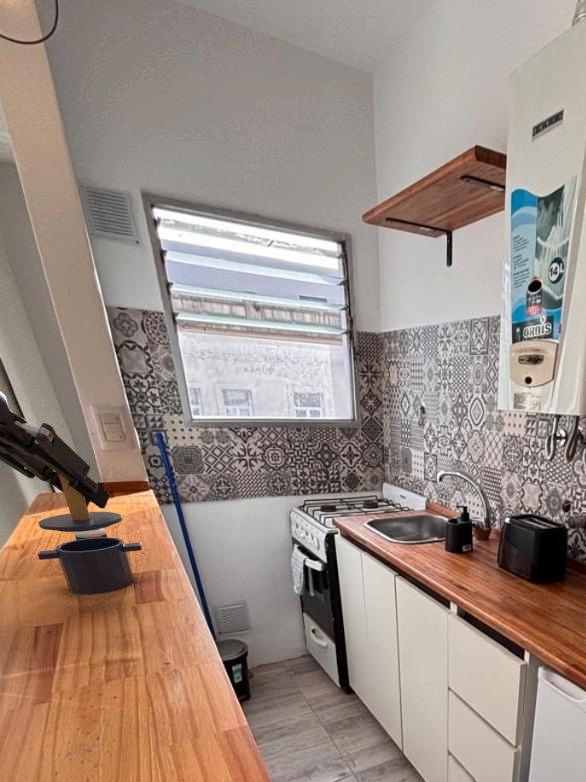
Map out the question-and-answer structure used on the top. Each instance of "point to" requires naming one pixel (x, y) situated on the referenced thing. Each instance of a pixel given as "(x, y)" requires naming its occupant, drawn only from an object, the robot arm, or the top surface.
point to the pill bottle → (90, 534)
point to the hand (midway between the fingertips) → (96, 500)
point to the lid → (78, 514)
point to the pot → (94, 564)
